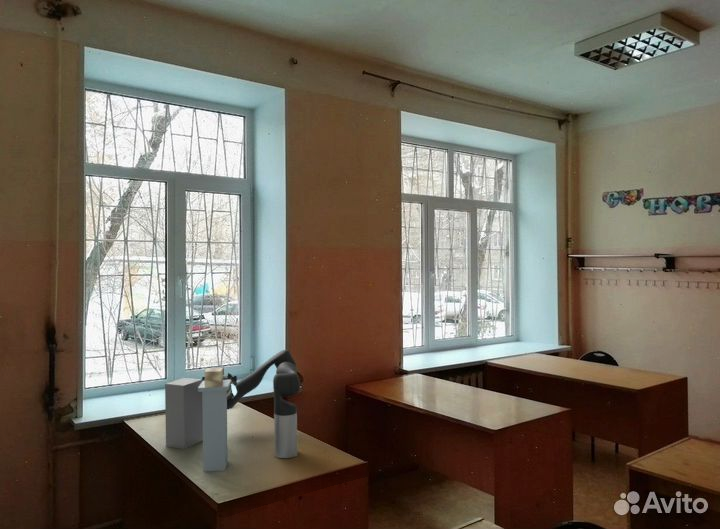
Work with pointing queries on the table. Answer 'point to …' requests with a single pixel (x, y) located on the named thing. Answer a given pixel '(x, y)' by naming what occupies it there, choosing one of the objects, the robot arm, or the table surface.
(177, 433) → the grey tall block
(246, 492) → the table surface
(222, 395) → the tall plinth
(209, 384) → the brown wooden bar
